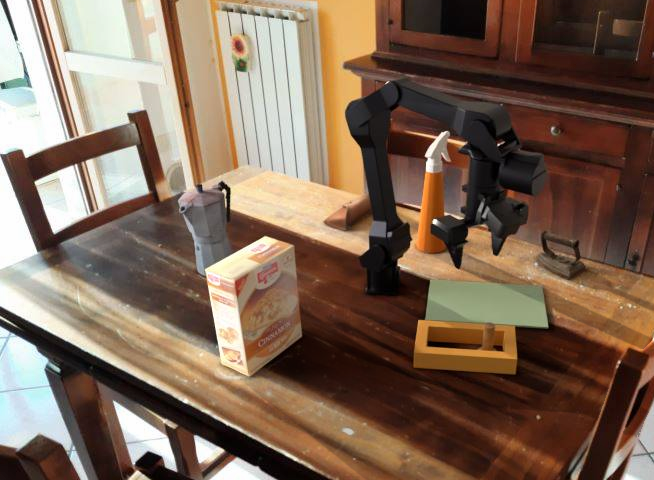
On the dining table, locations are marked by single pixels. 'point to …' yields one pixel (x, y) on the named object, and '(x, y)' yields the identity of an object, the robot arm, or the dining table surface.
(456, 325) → the rectangular frame
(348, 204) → the sunglasses case
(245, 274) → the coffeecake box
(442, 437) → the dining table surface
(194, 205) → the moka pot
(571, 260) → the clothes iron
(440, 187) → the spray bottle
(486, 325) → the peg stand
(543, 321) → the mat
